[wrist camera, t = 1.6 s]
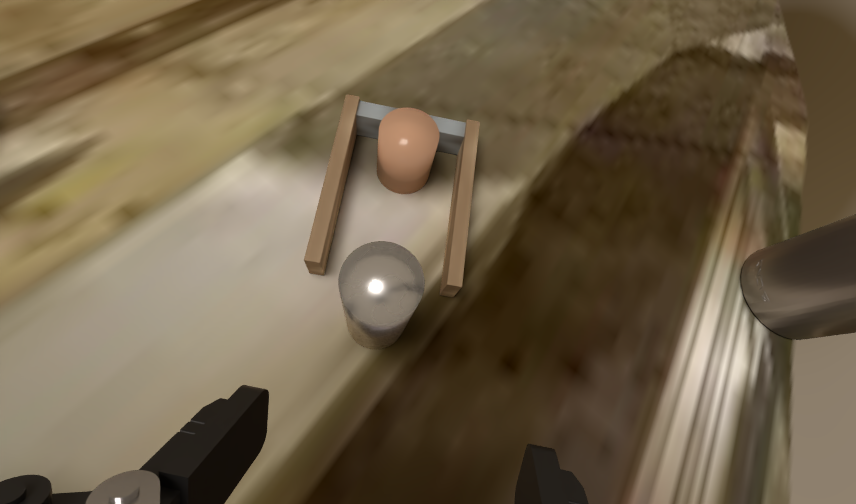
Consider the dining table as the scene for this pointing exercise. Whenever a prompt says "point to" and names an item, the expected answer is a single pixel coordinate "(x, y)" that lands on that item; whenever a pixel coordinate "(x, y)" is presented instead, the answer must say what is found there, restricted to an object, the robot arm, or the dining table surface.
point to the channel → (352, 123)
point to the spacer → (406, 149)
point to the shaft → (380, 292)
